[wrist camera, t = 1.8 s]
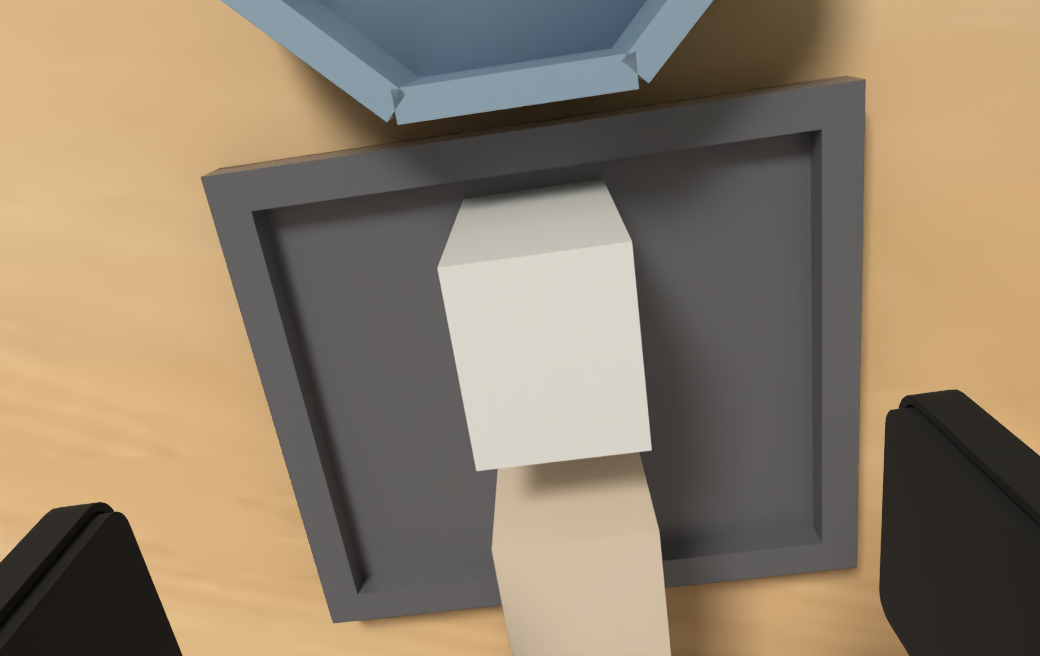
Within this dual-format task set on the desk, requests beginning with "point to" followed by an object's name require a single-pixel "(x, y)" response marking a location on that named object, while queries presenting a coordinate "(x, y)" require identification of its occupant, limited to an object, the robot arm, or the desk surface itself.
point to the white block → (546, 326)
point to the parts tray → (663, 324)
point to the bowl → (475, 48)
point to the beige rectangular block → (580, 559)
